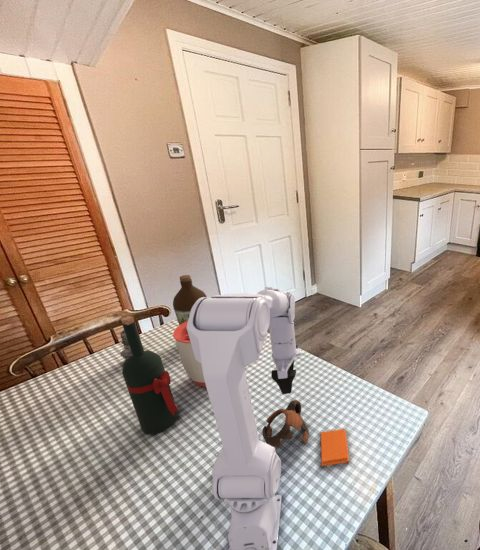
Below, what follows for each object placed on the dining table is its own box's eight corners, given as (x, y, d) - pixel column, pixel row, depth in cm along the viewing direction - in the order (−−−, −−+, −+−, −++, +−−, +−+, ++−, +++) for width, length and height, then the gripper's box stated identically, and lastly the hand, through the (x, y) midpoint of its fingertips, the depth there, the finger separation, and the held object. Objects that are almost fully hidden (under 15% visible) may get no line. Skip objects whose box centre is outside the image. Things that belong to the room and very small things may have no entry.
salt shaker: (126, 356, 101) (115, 325, 97) (147, 352, 103) (137, 321, 99) (121, 367, 96) (109, 335, 92) (143, 362, 98) (133, 330, 94)
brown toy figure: (307, 456, 69) (285, 440, 64) (274, 462, 72) (251, 446, 68) (317, 406, 78) (299, 389, 74) (288, 413, 81) (269, 397, 77)
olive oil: (198, 329, 117) (185, 269, 108) (221, 334, 114) (209, 272, 105) (175, 345, 107) (158, 280, 98) (200, 350, 105) (184, 284, 95)
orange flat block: (349, 462, 67) (348, 458, 66) (321, 466, 66) (321, 462, 66) (345, 431, 74) (345, 428, 74) (320, 435, 73) (320, 431, 73)
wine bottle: (167, 440, 72) (132, 331, 61) (133, 431, 74) (94, 324, 63) (193, 414, 79) (165, 313, 68) (161, 406, 81) (130, 307, 70)
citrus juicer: (228, 396, 85) (216, 335, 77) (173, 389, 87) (156, 329, 80) (256, 361, 99) (247, 307, 92) (207, 356, 102) (196, 303, 94)
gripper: (298, 353, 67) (302, 401, 72) (300, 321, 80) (304, 362, 85) (265, 357, 66) (272, 404, 71) (273, 323, 79) (278, 365, 84)
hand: (287, 382), depth 78 cm, fingers open, 7 cm apart
